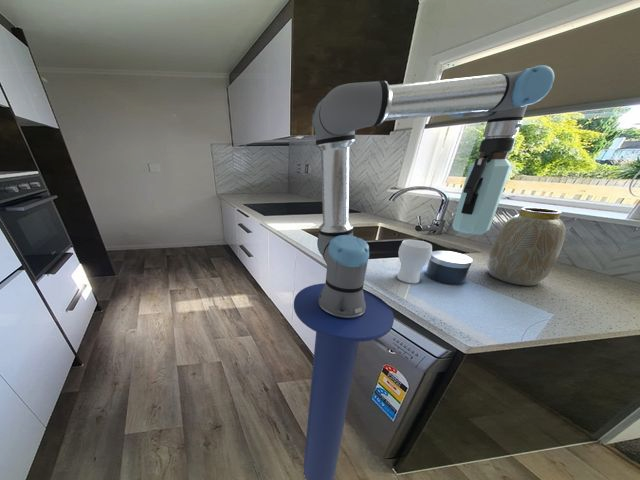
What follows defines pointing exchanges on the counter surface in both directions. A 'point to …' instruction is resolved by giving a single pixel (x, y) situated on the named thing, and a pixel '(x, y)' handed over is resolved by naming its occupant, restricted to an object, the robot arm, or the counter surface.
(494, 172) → the water bottle
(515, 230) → the vase
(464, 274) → the navy round container
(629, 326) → the counter surface
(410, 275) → the cup
